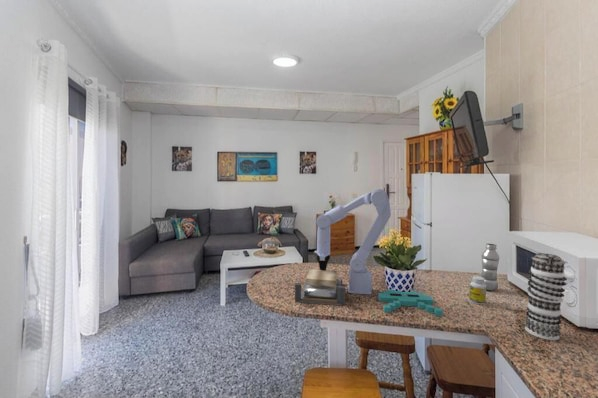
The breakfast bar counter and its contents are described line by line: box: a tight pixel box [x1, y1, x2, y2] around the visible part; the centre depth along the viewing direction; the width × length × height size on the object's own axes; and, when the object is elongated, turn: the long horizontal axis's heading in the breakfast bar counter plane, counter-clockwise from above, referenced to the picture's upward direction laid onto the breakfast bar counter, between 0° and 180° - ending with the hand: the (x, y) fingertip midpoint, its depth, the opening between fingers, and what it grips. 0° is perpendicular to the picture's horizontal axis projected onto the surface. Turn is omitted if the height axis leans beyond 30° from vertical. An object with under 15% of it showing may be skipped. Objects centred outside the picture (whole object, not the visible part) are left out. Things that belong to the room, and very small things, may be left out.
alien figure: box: [377, 288, 444, 317], centre depth 113 cm, size 20×2×20 cm
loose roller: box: [304, 287, 336, 300], centre depth 113 cm, size 12×4×4 cm, turn 81°
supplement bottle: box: [468, 275, 487, 306], centre depth 114 cm, size 5×5×10 cm
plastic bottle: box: [480, 243, 500, 292], centre depth 126 cm, size 6×7×20 cm
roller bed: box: [294, 277, 346, 306], centre depth 123 cm, size 19×28×6 cm
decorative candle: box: [524, 252, 568, 341], centre depth 91 cm, size 9×9×25 cm
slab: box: [305, 268, 338, 287], centre depth 121 cm, size 12×12×2 cm
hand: (322, 272), depth 128 cm, fingers closed
